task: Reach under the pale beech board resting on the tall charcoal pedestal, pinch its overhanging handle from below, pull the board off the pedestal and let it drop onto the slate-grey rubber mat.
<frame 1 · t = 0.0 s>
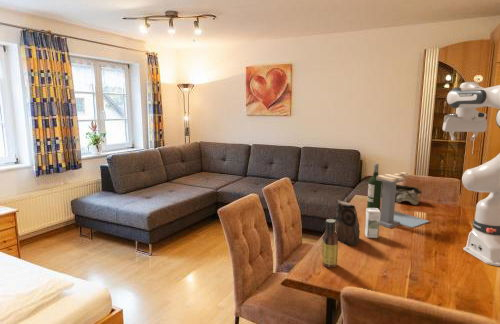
hand: (462, 140, 174), 48 cm above the table, tool pointing down, fingers open, 8 cm apart
black speaker: (349, 241, 164), on the table
hollow geode rock: (398, 201, 232), on the table
sauce bottle: (329, 265, 139), on the table
pedestal: (386, 223, 188), on the table
syrup box: (371, 236, 170), on the table
mat: (401, 219, 195), on the table
wine bottle: (373, 209, 213), on the table
board: (389, 178, 183), point 26 cm above the table, touching pedestal
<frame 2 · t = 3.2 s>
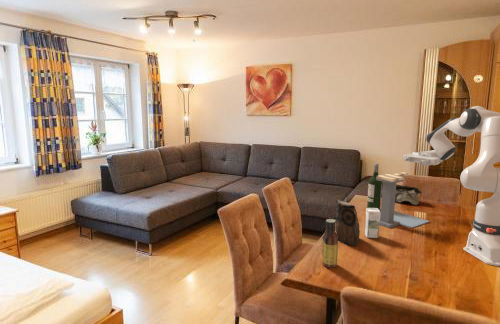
hand: (413, 160, 194), 34 cm above the table, tool horizontal, fingers open, 8 cm apart
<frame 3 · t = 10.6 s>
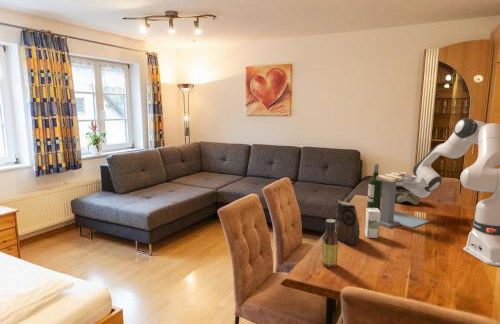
hand: (401, 174, 189), 27 cm above the table, tool pointing upward, fingers closed on board, 3 cm apart
board: (389, 178, 183), point 26 cm above the table, touching gripper, pedestal
when the fingers open (22 cm above the table, at t = 16.9 s): board drops 20 cm, resting on mat.
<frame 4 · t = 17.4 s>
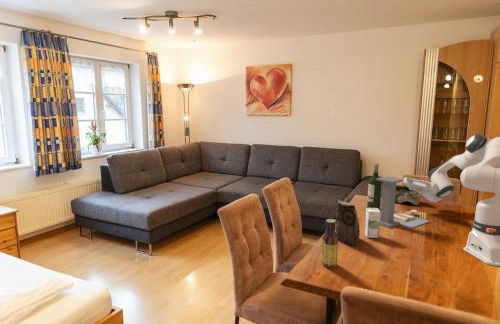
hand: (414, 179, 197), 22 cm above the table, tool pointing upward, fingers open, 8 cm apart
board: (401, 217, 196), point 1 cm above the table, touching mat
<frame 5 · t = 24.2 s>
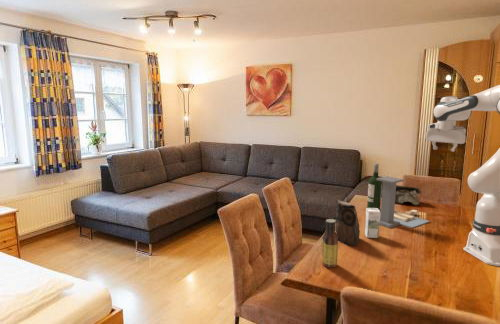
hand: (443, 150, 187), 41 cm above the table, tool pointing down, fingers open, 8 cm apart
at the end: board inside the target area on the mat (0.8 cm from its centre), point 0.6 cm above the mat's base; the gripper is holding nothing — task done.
